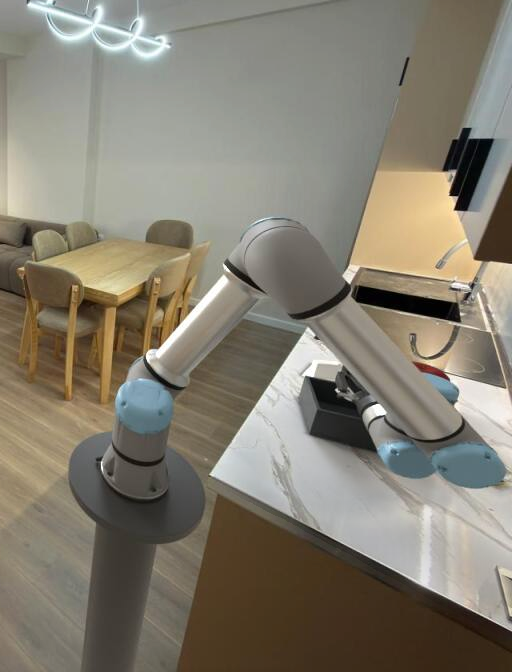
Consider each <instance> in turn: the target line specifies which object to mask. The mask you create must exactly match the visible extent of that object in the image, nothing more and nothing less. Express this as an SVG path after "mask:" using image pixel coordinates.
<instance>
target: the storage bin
mask: <svg viewBox="0 0 512 672" xmlns="http://www.w3.org/2000/svg"><path fill="white" fill-rule="evenodd" d="M336 388H337V385H336V382H335V381H330V380H325V379H321V378H316V377H311V376H306V375H305V377H303V381H302V384H301V389H300V391H299V394H298V401H299V404H300V407H301V408H300V409H301V411H302V413H303V414H302V415H303V418H304V421H305V425H306V429H307V431H308V434H309V435H311V436H314V437H315V436H316V437H320V438H323V439H327V440H331V441H334V442H339V443H343V444H346V445H349V446H354V447H357V448H362V449H365V450H369V451H373V452H377V453H378V451H377V449H376V446H375V444H374V442H373V440H372V438H371V436H370V434H369V432H368V430H367V428H366V426H365V424H364V422H363V420H362V418H361V416H360V414H359V412H358V410H357V406H356V404H354V403H353V402H351V401H349V400H347V399H345V398H343V399H340V398H338V397H337V395H338V393H337V392H336V390H335V389H336Z"/></svg>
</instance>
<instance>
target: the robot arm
mask: <svg viewBox="0 0 512 672" xmlns="http://www.w3.org/2000/svg"><path fill="white" fill-rule="evenodd" d="M222 269H223V274H222V275H221V277H220V278H219V279H218V280H217V281H216V282H215V284H213V286H212V287H211V288H210V289H209V290H208V292H206V294H204V296H203V297H202V299H201V300H199V302H198V303H197V304H196V305H195V306H194V308H192V310H191V311H190V312H189V313H188V314H187V316H186V317H185V318H184V319H183V320H182V321H181V323H180V324H179V325H178V326H177V327H176V328H175V329H174V330H173V332H172V333H171V334H170V335H169V336H168V338H167V339H166V340H165V341H164V342H163V343H162V344H161V346H159V348H151V349H148V350H147V352H146V353H145V354H144V355H142V356H140V357H139V358H137V359H135V361H134V362H133V363H132V364H131V366H130V367H129V369H128V371H127V374H126V380H125V382H124V383H123V384H122V385H121V386H120V387H119V388H118V391H117V394H116V398H115V401H114V406H115V407H114V410H115V411H114V419H113V429H112V431H113V435H112V443H111V444H110V446H109V448H108V449H107V451H106V453H105V455H104V456H100V457H96V461H102V462H101V475H102V478H103V480H104V482H105V483H106V485H107V486H108V487H109V488H110V489H111V490H112V491H113V492H114V493H116V494H117V495H119V496H120V497H122V498H124V499H127V500H129V501H133V502H137V503H152V502H155V501H158V500H160V499H161V498H163V497H164V496H165V495H166V493H167V491H168V487H169V481H170V478H169V473H168V464H166V460H165V452H166V446H168V440H169V436H170V435H169V434H170V428H171V423H172V420H173V417H174V411H175V409H174V408H175V407H174V401H175V399H177V397H178V396H179V395H180V394H181V393H182V392H183V391H184V390H185V389H186V388H187V387H188V386H189V384H190V383H191V378H190V374H191V372H192V371H194V369H195V368H197V366H198V365H199V364H200V363H201V362H202V361H203V360H204V359H206V357H207V356H208V355H209V354H210V353H211V352H212V351H213V350H214V349H215V348H216V347H217V346H218V345H219V344H220V343H221V342H222V340H224V339H225V337H226V336H228V334H229V333H230V332H231V331H232V330H233V329H234V328H235V327H236V326H237V325H238V324H239V323H240V322H241V321H242V320H243V319H244V318H245V317H246V316H247V315H248V314H249V313H250V312H251V311H252V310H253V309H254V308H255V307H256V306H257V304H259V302H260V301H262V300H264V299H272V300H273V301H274V302H275V303H276V305H278V306H279V307H280V308H281V309H282V310H283V311H284V312H285V313H286V314H287V316H289V317H290V319H291V320H293V321H294V322H295V321H296V322H302V323H304V324H305V325H306V326H307V327H308V329H309V330H310V331H311V332H312V333H313V334H314V335H315V336H316V337H317V338H318V340H320V342H322V344H323V345H324V346H325V347H326V348H327V349H328V350H329V351H330V352H331V353H332V355H333V356H334V357H335V358H336V359H337V360H338V362H340V363H342V364H343V366H342V370H341V372H340V371H338V372H337V375H336V378H335V382H336V385H337V388H338V395H337V397H338V398H340V399H343V398H344V397H345V398H349V399H351V400H352V402H353V403H354V404H356V406H357V410H358V412H359V414H360V416H361V418H362V420H363V422H364V424H365V426H366V428H367V430H368V432H369V434H370V436H371V438H372V440H373V442H374V444H375V446H376V449H377V451H378V452H377V454H378V457H379V458H381V459H382V462H383V464H384V465H385V466H386V468H388V469H389V470H390V471H391V472H393V473H394V474H395V475H397V476H400V477H403V478H406V479H412V480H413V479H414V480H421V479H425V478H429V477H432V476H433V475H434V474H436V473H438V474H439V476H441V477H442V478H443V479H444V480H445V481H447V482H449V483H450V484H453V485H454V486H458V487H460V488H464V489H472V490H473V489H474V490H479V489H481V490H482V489H485V488H490V487H494V486H497V485H498V484H500V483H501V482H502V481H503V480H504V478H505V476H506V473H507V468H506V465H505V463H504V462H503V460H502V459H501V458H500V456H499V454H498V452H497V451H496V450H495V449H494V448H493V447H492V446H490V444H488V443H487V442H486V440H485V439H484V438H483V437H482V436H481V435H480V434H479V433H478V432H477V431H476V430H475V429H474V427H473V426H472V425H471V424H470V423H469V422H468V420H467V419H466V418H465V417H464V416H463V415H462V414H461V413H460V412H459V410H457V408H456V407H455V405H456V404H457V403H458V402H459V400H458V399H459V397H460V388H459V387H458V386H457V385H456V384H455V383H453V382H452V381H451V380H450V381H448V380H446V379H444V378H441V377H438V376H435V375H432V374H428V373H423V372H420V371H419V369H418V368H417V367H416V366H415V365H414V364H413V363H412V362H411V361H412V360H411V359H409V357H408V356H407V355H406V354H405V353H404V352H403V351H402V350H401V349H400V348H399V347H398V346H397V344H396V343H395V342H394V341H393V340H392V339H391V338H390V337H389V336H388V335H387V334H386V333H385V332H384V331H383V329H382V328H380V326H379V325H378V324H377V323H376V321H374V320H373V319H372V317H370V315H369V314H368V313H367V312H366V311H365V310H364V309H363V308H362V307H361V305H359V303H358V302H357V301H356V300H355V299H354V298H353V297H352V293H353V287H352V285H351V284H350V283H349V282H348V281H347V279H345V277H344V276H343V275H342V274H341V273H340V271H339V270H338V269H337V267H336V266H335V264H334V263H333V261H332V260H331V258H330V257H329V254H328V253H327V252H326V249H324V247H323V245H322V243H321V242H320V241H319V240H318V238H316V237H315V236H314V235H313V234H312V233H311V232H310V231H309V229H308V228H307V227H306V226H305V225H303V224H302V223H300V221H297V220H294V219H292V218H288V217H284V216H269V217H265V218H261V219H259V220H257V221H255V222H254V223H252V224H250V225H249V226H248V227H247V228H246V229H245V230H244V232H243V233H242V234H241V237H240V239H239V242H238V245H237V246H236V247H235V248H234V250H233V251H232V252H231V253H230V254H229V255H228V257H226V259H225V260H224V261H223V262H222ZM348 387H349V388H350V389H351V390H352V392H353V393H354V394H351V392H350V389H348Z"/></svg>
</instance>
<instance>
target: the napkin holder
mask: <svg viewBox="0 0 512 672" xmlns="http://www.w3.org/2000/svg"><path fill="white" fill-rule="evenodd" d="M312 360H313V361H312V363H311V364H310V366H308V367H307V369H305V371H304V372H303V373H302V374H301V377H303V378H305V375H306V376H311V377H316V378H321V379H325V380H330V381H335V378H336V375H337V372H338V371H340V372H341V370H342V366H343V364H342V363H341V362H340V361H339V360H338V361H336V360H325V359H312Z"/></svg>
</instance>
